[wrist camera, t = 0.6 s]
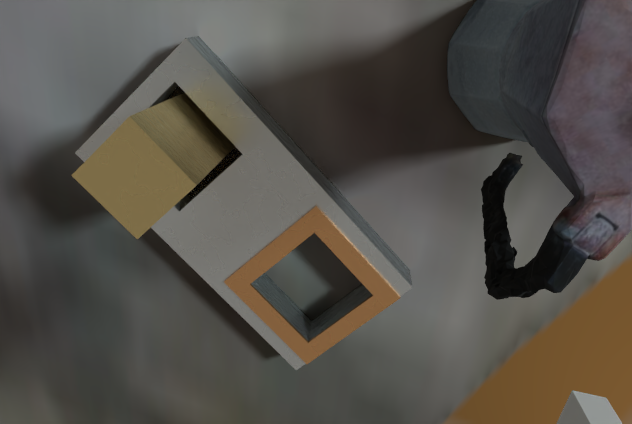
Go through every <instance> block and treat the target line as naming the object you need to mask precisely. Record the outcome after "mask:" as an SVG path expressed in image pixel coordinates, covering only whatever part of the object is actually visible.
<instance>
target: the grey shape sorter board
mask: <svg viewBox="0 0 632 424" xmlns="http://www.w3.org/2000/svg"><path fill="white" fill-rule="evenodd" d="M178 86H179V87H180V88H181V89H182V90H183V91H184V92H185V93H186V94H187V95H188V96H189V97H190V98H191V99H192V101H193V102H194V103H195V104H196V105H197V106H198V107H199V108H200V109H201V110H202V111H203V112H204V113H205V114H206V116H207V117H208V118H209V119H210V120H211V121H212V122H213V123H214V124H215V125H216V126H217V127H218V128H219V129H220V131H221V132H222V133H223V134H224V135H225V136H226V137H227V138H228V139H229V140H230V141H231V142H232V143H233V144H234V145H235V147H236V148H237V149H238V150H239V151H240V152H241V154H240V155H239V156H238V157H237V158H236V159H235V160H234V161H233V162H231V163H230V164H229V165H228V166H227V167H226V168H225V169H224V170H223V171H221V172H220V173H219V174H218V175H217V176H216V177H215V178H214V179H213V180H212V181H210V182H209V183H208V184H207V185H206V186H205V187H204V188H203V189H202V190H200V191H199V192H198V193H197V194H196V195H195V196H194V197H193V198H192V199H191V198H190V197H189V196H188V195H186V196H185V197H183V198H182V199H181V200H180V201H179V202H178V203H177V204H176V205H175V206H174V207H172V208H171V209H170V210H169V211H168V212H167V213H166V214H165V215H164V216H163V217H161V218H160V219H159V220H158V221H157V222H156V223H155V224H154V225H153V226H152V227H151V228H152V229H153V230H154V231H155V232H156V233H157V234H158V235H159V236H160V237H161V238H162V239H163V240H164V241H165V242H166V243H167V244H168V245H169V246H170V247H171V248H172V249H173V250H174V251H175V252H176V253H177V254H178V255H179V256H180V257H181V258H182V259H183V260H184V261H185V262H186V263H187V264H188V265H189V266H191V267H192V268H193V269H194V270H195V271H196V272H197V273H198V274H199V275H200V276H201V277H202V278H203V279H204V280H205V281H206V282H207V283H208V284H209V285H210V286H211V287H212V288H213V289H214V290H215V291H216V292H217V293H218V294H219V295H220V296H221V297H222V298H223V299H224V300H225V301H226V302H227V303H228V304H229V305H230V306H231V307H232V308H233V309H234V310H235V311H236V312H237V313H238V314H239V315H240V316H241V317H242V318H243V319H244V320H246V321H247V322H248V323H249V324H250V325H251V326H252V327H253V328H254V329H255V330H256V331H257V332H258V333H259V334H260V335H261V336H262V337H263V338H264V339H265V340H266V341H267V342H268V343H269V344H270V345H271V346H272V347H273V348H274V349H275V350H276V351H277V352H278V353H279V354H280V355H281V356H282V357H283V358H284V359H285V360H286V361H287V362H288V363H289V364H290V365H291V366H292V367H293V368H294V369H295V370H297V369H299V368H300V367H302V366H303V365H304V364H308V363H309V362H311V361H312V360H314V359H315V358H316V357H318V356H319V355H321V354H322V353H324V352H325V351H326V350H328V349H329V348H331V347H332V346H333V345H335V344H336V343H338V342H339V341H340V340H342V339H343V338H345V337H346V336H347V335H349V334H350V333H352V332H353V331H355V330H356V329H357V328H359V327H360V326H362V325H363V324H364V323H366V322H367V321H369V320H370V319H371V318H373V317H374V316H376V315H377V314H378V313H380V312H381V311H383V310H384V309H386V308H387V307H388V306H390V305H391V304H393V303H394V302H395V301H397V300H398V299H400V296H401V295H403V294H404V293H406V292H407V291H409V290H410V289H411V288H413V287H412V281H411V275H410V270H409V269H408V268H407V267H406V265H405V264H404V263H403V262H402V261H401V260H400V259H399V258H398V257H397V255H396V254H395V253H394V252H393V251H392V250H391V249H390V248H389V247H388V245H387V244H386V243H385V242H384V241H383V240H382V239H381V238H380V237H379V236H378V234H377V233H376V232H375V231H374V230H373V229H372V228H371V227H370V226H369V224H368V223H367V222H366V221H365V220H364V219H363V218H362V217H361V216H360V214H359V213H358V212H357V211H356V210H355V209H354V208H353V207H352V206H351V205H350V203H349V202H348V201H347V200H346V199H345V198H344V197H343V196H342V195H341V193H340V192H339V191H338V190H337V189H336V188H335V187H334V186H333V185H332V183H331V182H330V181H329V180H328V179H327V178H326V177H325V176H324V175H323V173H322V172H321V171H320V170H319V169H318V168H317V167H316V166H315V165H314V164H313V162H312V161H311V160H310V159H309V158H308V157H307V156H306V155H305V154H304V152H303V151H302V150H301V149H300V148H299V147H298V146H297V145H296V144H295V142H294V141H293V140H292V139H291V138H290V137H289V136H288V135H287V134H286V133H285V131H284V130H283V129H282V128H281V127H280V126H279V125H278V124H277V123H276V121H275V120H274V119H273V118H272V117H271V116H270V115H269V114H268V113H267V111H266V110H265V109H264V108H263V107H262V106H261V105H260V104H259V103H258V101H257V100H256V99H255V98H254V97H253V96H252V95H251V94H250V93H249V92H248V90H247V89H246V88H245V87H244V86H243V85H242V84H241V83H240V82H239V80H238V79H237V78H236V77H235V76H234V75H233V74H232V73H231V72H230V70H229V69H228V68H227V67H226V66H225V65H224V64H223V63H222V62H221V61H220V59H219V58H218V57H217V56H216V55H215V54H214V53H213V52H212V51H211V49H210V48H209V47H208V46H207V45H206V44H205V43H204V42H203V41H202V39H201V38H200V37H199V36H197V37H190V38H185V39H184V40H183V41H182V42H181V43H180V45H179V46H178V47H177V48H176V49H175V50H174V51H173V52H172V53H171V54H170V55H169V56H168V57H167V58H166V59H165V60H164V61H163V62H162V63H161V64H160V65H159V66H158V67H157V68H156V69H155V70H154V71H153V73H152V74H151V75H150V76H149V77H148V78H147V79H146V80H145V81H144V82H143V83H142V84H141V85H140V86H139V87H138V88H137V89H136V90H135V91H134V92H133V93H132V94H131V95H130V96H129V97H128V98H127V99H126V100H125V102H124V103H123V104H122V105H121V106H120V107H119V108H118V109H117V110H116V111H115V112H114V113H113V114H112V115H111V116H110V117H109V118H108V119H107V120H106V121H105V122H104V123H103V124H102V125H101V126H100V127H99V128H98V129H97V131H96V132H95V133H94V134H93V135H92V136H91V137H90V138H89V139H88V140H87V141H86V142H85V143H84V144H83V145H82V146H81V147H80V148H79V149H78V150H77V151H76V152H75V154H76V155H77V156H78V157H79V158H81V159H82V160H83V161H84V162H85V161H86V160H87V159H88V158H89V157H90V156H91V155H92V154H93V153H94V152H95V151H96V150H97V149H98V148H99V147H100V146H101V145H102V144H103V143H104V142H105V141H106V140H107V139H108V138H109V137H110V136H111V135H112V134H113V133H114V131H115V130H116V129H117V128H118V127H119V126H120V125H121V124H122V123H123V122H124V121H125V120H126V119H127V118H128V117H129V116H131V115H134V114H136V113H138V112H141V111H143V110H145V109H148V108H150V107H152V106H154V105H157V104H159V103H161V102H163V101H164V100H165V99H166V98H167V97H168V96H169V95H170V94H171V93H172V92H173V91H174V90H175V89H176V88H177V87H178ZM313 233H315V234H316V235H317V236H318V237H319V238H320V239H321V240H322V241H323V242H324V243H325V244H326V245H327V247H328V248H329V249H330V250H331V251H332V252H333V253H334V254H335V255H336V256H337V257H338V258H339V259H340V260H341V262H342V263H343V264H344V265H345V266H346V267H347V268H348V269H349V270H350V271H351V272H352V273H353V274H354V275H355V276H356V278H357V279H358V280H359V281H360V282H361V283H362V285H360V286H359V287H358V288H356V289H355V290H353V291H352V292H351V293H349V294H348V295H347V296H345V297H344V298H343V299H341V300H340V301H339V302H337V303H336V304H334V305H333V306H332V307H330V308H329V309H328V310H326V311H325V312H324V313H322V314H321V315H320V316H318V317H317V318H316V319H314V320H313V321H311V320H310V319H309V318H308V317H307V316H306V315H305V314H304V313H303V312H302V311H301V310H300V309H299V308H298V307H297V306H296V305H295V304H294V303H293V302H292V301H291V300H290V299H289V298H288V297H287V296H286V295H285V294H284V292H283V291H282V290H281V289H280V288H279V287H278V286H277V285H276V284H275V283H274V282H273V281H272V280H271V279H270V278H269V277H268V276H267V275H266V274H265V272H266V271H267V270H268V269H270V268H271V267H272V266H273V265H275V264H276V263H277V262H278V261H280V260H281V259H282V258H283V257H285V256H286V255H287V254H288V253H290V252H291V251H292V250H293V249H295V248H296V247H297V246H298V245H300V244H301V243H302V242H303V241H305V240H306V239H307V238H308V237H310V236H311V235H312V234H313Z"/></svg>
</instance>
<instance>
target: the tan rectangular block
mask: <svg viewBox="0 0 632 424" xmlns="http://www.w3.org/2000/svg"><path fill="white" fill-rule="evenodd" d="M234 147H235V145H234V144H233V143H232V142H231V141H230V140H229V139H228V138H227V137H226V136H225V135H224V134H223V133H222V132H221V131H220V129H219V128H218V127H217V126H216V125H215V124H214V123H213V122H212V121H211V120H210V119H209V118H208V117H207V116H206V114H205V113H204V112H203V111H202V110H201V109H200V108H199V107H198V106H197V105H196V104H195V103H194V102H193V101H192V99H191V98H190V97H189V96H188V95H187V94H186V93H182V94H180V95H178V96H175V97H173V98H171V99H168V100H166V101H164V102H161V103H159V104H157V105H154V106H152V107H150V108H148V109H145V110H143V111H141V112H138V113H136V114H134V115H131V116H129V117H128V118H127V119H126V120H125V121H124V122H123V123H122V124H121V125H120V126H119V127H118V128H117V129H116V130H115V131H114V133H113V134H112V135H111V136H110V137H109V138H108V139H107V140H106V141H105V142H104V143H103V144H102V145H101V146H100V147H99V148H98V149H97V150H96V151H95V152H94V153H93V154H92V155H91V156H90V157H89V158H88V159H87V160H86V161H85V162H84V163H83V164H82V165H81V166H80V167H79V168H78V169H77V170H76V171H75V172H74V173H73V174H72V175H71V176H72V177H73V178H74V179H75V180H76V181H78V182H79V183H80V184H81V185H82V186H83V187H84V188H85V189H86V190H87V191H88V192H89V193H90V194H91V195H92V196H93V197H94V198H95V199H96V200H97V201H98V202H99V203H100V204H101V205H102V206H103V207H104V208H105V209H106V210H107V211H108V212H109V213H110V214H112V215H113V216H114V217H115V218H116V219H117V220H118V221H119V222H120V223H121V224H122V225H123V226H124V227H125V228H126V229H127V230H128V231H129V232H130V233H131V234H132V235H133V236H134V237H135V238H136V239H138V238H140V237H141V236H142V235H143V234H144V233H145V232H146V231H147V230H148V229H149V228H151V227H152V226H153V225H154V224H155V223H156V222H157V221H158V220H159V219H160V218H161V217H163V216H164V215H165V214H166V213H167V212H168V211H169V210H170V209H171V208H172V207H174V206H175V205H176V204H177V203H178V202H179V201H180V200H181V199H182V198H183V197H185V196H186V195H187V194H188V193H189V192H190V191H191V190H192V189H193V188H194V187H195V186H197V185H198V184H199V183H200V182H201V181H202V180H203V179H204V177H205V176H206V175H207V174H208V173H209V172H210V171H211V170H212V169H213V168H214V167H215V166H216V165H217V164H218V163H219V162H220V161H221V160H222V159H223V158H224V157H225V156H226V155H227V154H228V153H229V152H230V151H231V150H232V149H233V148H234Z"/></svg>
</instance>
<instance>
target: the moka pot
mask: <svg viewBox="0 0 632 424" xmlns="http://www.w3.org/2000/svg"><path fill="white" fill-rule="evenodd" d="M447 74H448V86H449V93H450V96H451V98H452V99H453V100H454V102H455V103H456V105H457V106H458V107H459V109H460V110H461V112H462V113H463V114H464V115H465V117H466V118H467V119H468V120H469V122H470V123H471V124H472V126H473V127H474V129H476V130H478V131H481V132H485V133H488V134H492V135H496V136H500V137H504V138H509V139H514V140H519V141H524V142H529V144H530V145H531V146H532V147H534V148H535V150H536V151H537V153H538V154H539V156H540V157H541V159H543V160H544V161H545V162H546V164H547V165H548V166H549V167H550V168H551V169H552V170H553V172H554V173H555V174H556V175H557V176H558V177H559V179H560V180H561V181H562V182H563V183H564V185H565V186H566V187H567V188H568V189H569V191H570V192H571V193H572V194H573V195H574V198H573V199H572V200H571V201H570V203H569V204H568V205H567V206H566V207H565V208H564V209H563V210H562V211H561V213H560V214H559V215H558V216H557V218H556V219H555V221H554V222H553V224H552V226H551V228H550V230H549V232H548V234H547V236H546V238H545V240H544V242H543V243H542V245H541V247H540V249H539V251H538V253H537V255H536V256H535V257H534V258H533V259H532V260H531V261H530V262H529V263H528V264H527V265H525V266H524V267H520V268H518V269H516V268H514V261H515V256H516V254H517V251H516V249H515V248H514V247H513V248H512V247H511V245H510V242H511V238H510V235H509V231H508V228H507V221H506V220H507V217H506V216H505V211H504V208H503V203H504V196H505V190H506V188H507V187H508V185H509V183H510V182H511V180H512V179H513V178H514V176H515V175H516V174H517V172H518V170H519V169H520V168H521V167H522V165H523V164H521V162H520V159H521V157H522V156H520V155H515V154H512V153H509V154H508V155H507V157H506V158H505V159H503V160H502V162H501V163H500V165H499V167H498V168H497V169H496V170H495V171H494V172H493V174H492V176H489V177H488V178H487V179H486V180H485V181H484V182H483V187H482V188H481V191H482V196H483V203H484V204H483V205H482V213H483V218H484V228H483V229H484V239H486V241H485V253H486V266H487V270H486V274H485V279H486V280H485V284H486V286H487V288H488V294H489V295H491V296H492V297H494V298H496V299H504V298H508V297H521V298H525V297H530V296H532V295H533V294H534V293H536V292H537V291H538V290H541V289H547V290H549V291H551V292H553V293H558V292H561V291H562V290H563V289H564V288H565V287H566V286H567V285H568V284H569V283H570V282H571V280H572V279H573V278H574V277H575V276H576V275H577V274H578V272H579V270H580V269H581V267H582V266H583V264H584V262H585V261H586V259H592V260H597V261H599V260H602V259H604V258H606V256H607V255H608V254H609V253H610V252H611V251H612V250H613V249H614V248H615V247H616V246H617V245H618V244H619V243H620V242H621V241H622V240H623V239H624V238H625V237H626V235H627V234H628V233H629V232H630V231H631V229H632V0H477V1H476V2H475V3H474V4H473V6H472V7H471V8H470V10H469V11H468V13H467V14H466V16H465V17H464V18H463V20H462V22H461V23H460V25H459V27H458V28H457V29H456V31H455V32H454V34H453V36H452V38H451V40H450V42H449V47H448V57H447Z"/></svg>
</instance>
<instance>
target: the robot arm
mask: <svg viewBox="0 0 632 424" xmlns="http://www.w3.org/2000/svg"><path fill="white" fill-rule="evenodd" d="M557 424H622V422H621V421H620V419H619V418H618V416H617V414H616V413H615V411H614V409H613V408H612V406H611V405H610V403H609V401H608V400H607V398H605V397H600V396H595V395H591V394H586V393H581V392H577V391H572V392H571V394H570V396H569V398H568V400H567V403H566V405H565V407H564V409H563V411H562V413H561V415H560V418H559V420H558V422H557Z"/></svg>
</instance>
